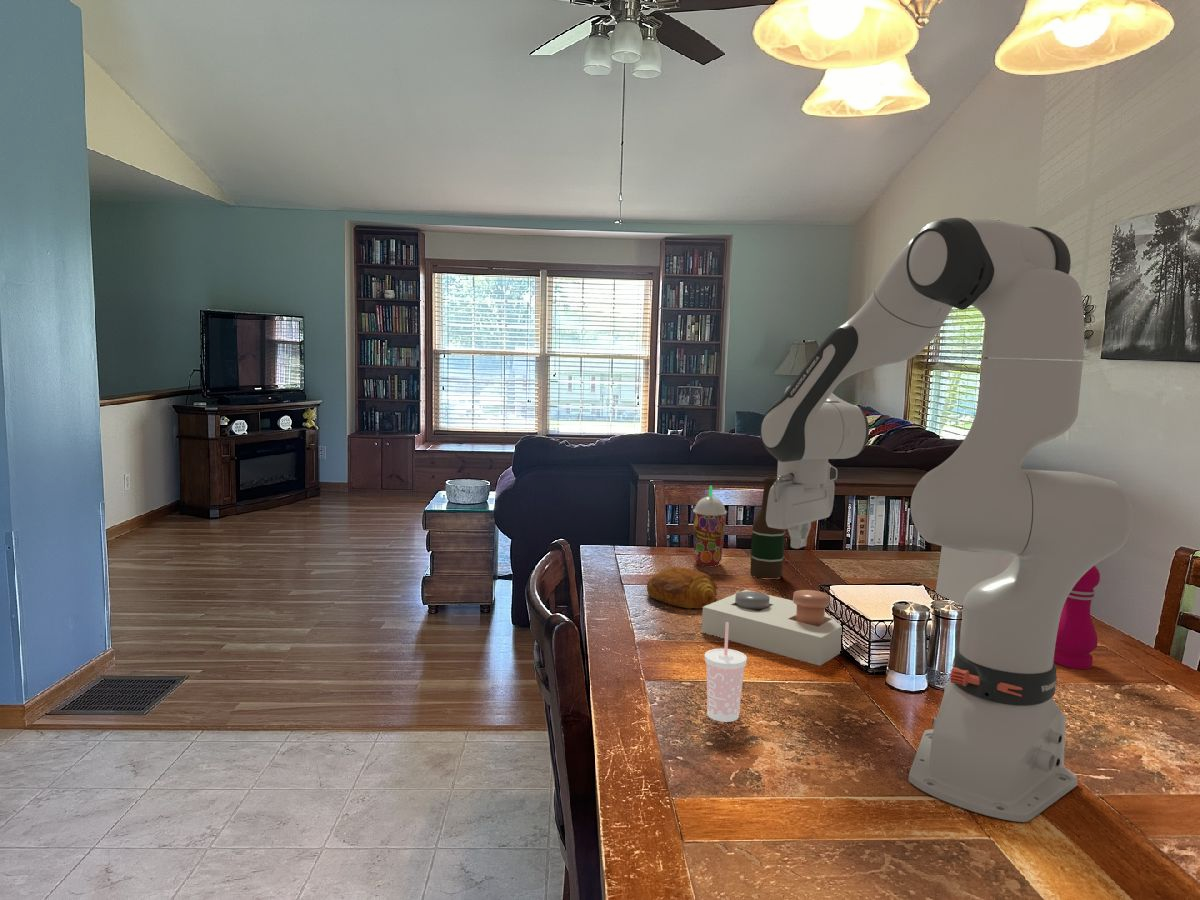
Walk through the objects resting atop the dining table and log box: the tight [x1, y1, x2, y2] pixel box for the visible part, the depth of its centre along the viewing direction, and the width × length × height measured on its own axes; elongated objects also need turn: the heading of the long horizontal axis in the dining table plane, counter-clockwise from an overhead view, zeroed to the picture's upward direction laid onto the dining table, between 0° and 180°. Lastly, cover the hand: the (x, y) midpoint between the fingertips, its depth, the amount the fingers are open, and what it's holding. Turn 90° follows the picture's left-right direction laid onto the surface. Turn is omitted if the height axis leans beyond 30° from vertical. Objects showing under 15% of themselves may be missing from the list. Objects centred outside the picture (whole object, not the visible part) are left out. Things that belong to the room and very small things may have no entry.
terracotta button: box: [792, 589, 831, 627], centre depth 150 cm, size 6×6×6 cm
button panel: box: [701, 589, 842, 667], centre depth 154 cm, size 16×24×5 cm, turn 50°
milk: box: [935, 546, 1015, 605], centre depth 166 cm, size 12×12×26 cm
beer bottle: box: [750, 475, 786, 579], centre depth 196 cm, size 8×8×24 cm
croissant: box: [646, 566, 719, 609], centre depth 176 cm, size 14×16×8 cm
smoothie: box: [692, 485, 728, 567], centre depth 205 cm, size 8×8×20 cm
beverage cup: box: [704, 622, 748, 723], centre depth 120 cm, size 6×6×14 cm
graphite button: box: [735, 591, 770, 611], centre depth 158 cm, size 6×6×6 cm
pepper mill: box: [1053, 565, 1101, 670], centre depth 144 cm, size 7×7×20 cm
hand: (798, 547), depth 150 cm, fingers closed
